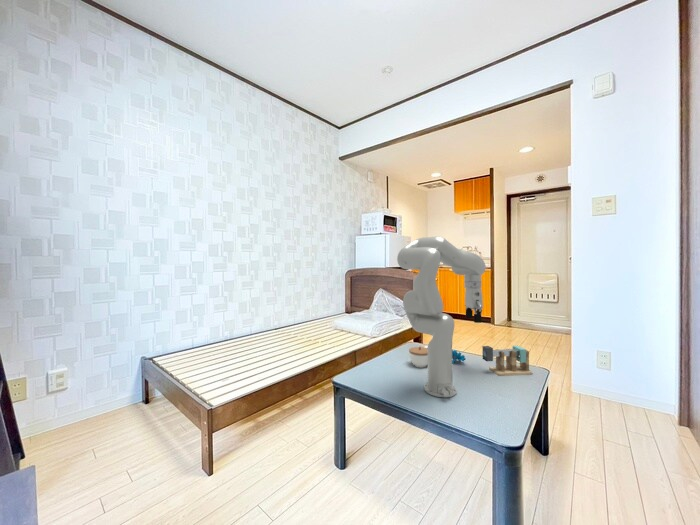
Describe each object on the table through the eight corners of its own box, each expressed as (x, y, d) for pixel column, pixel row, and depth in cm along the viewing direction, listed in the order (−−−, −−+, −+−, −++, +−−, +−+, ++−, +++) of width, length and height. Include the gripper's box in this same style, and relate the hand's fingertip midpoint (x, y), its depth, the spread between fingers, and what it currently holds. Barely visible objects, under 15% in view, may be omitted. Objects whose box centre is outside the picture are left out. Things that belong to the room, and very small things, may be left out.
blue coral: (469, 360, 145) (459, 348, 142) (466, 370, 142) (455, 359, 139) (451, 357, 154) (441, 346, 151) (447, 367, 151) (437, 356, 148)
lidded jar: (408, 368, 141) (408, 349, 140) (410, 360, 151) (410, 342, 151) (430, 370, 137) (430, 350, 137) (431, 362, 148) (431, 344, 148)
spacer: (526, 362, 132) (526, 349, 132) (521, 362, 132) (520, 349, 131) (517, 358, 138) (517, 345, 138) (512, 358, 137) (512, 345, 137)
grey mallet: (527, 359, 133) (527, 346, 133) (486, 361, 131) (486, 348, 131) (522, 357, 137) (522, 344, 136) (482, 358, 135) (482, 346, 135)
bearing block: (532, 374, 131) (532, 352, 131) (499, 375, 130) (498, 353, 130) (520, 367, 139) (520, 347, 139) (489, 369, 138) (488, 348, 138)
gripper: (489, 286, 129) (489, 324, 129) (473, 283, 146) (473, 316, 146) (472, 286, 129) (472, 324, 129) (458, 283, 146) (458, 316, 146)
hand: (473, 320), depth 138 cm, fingers open, 9 cm apart
